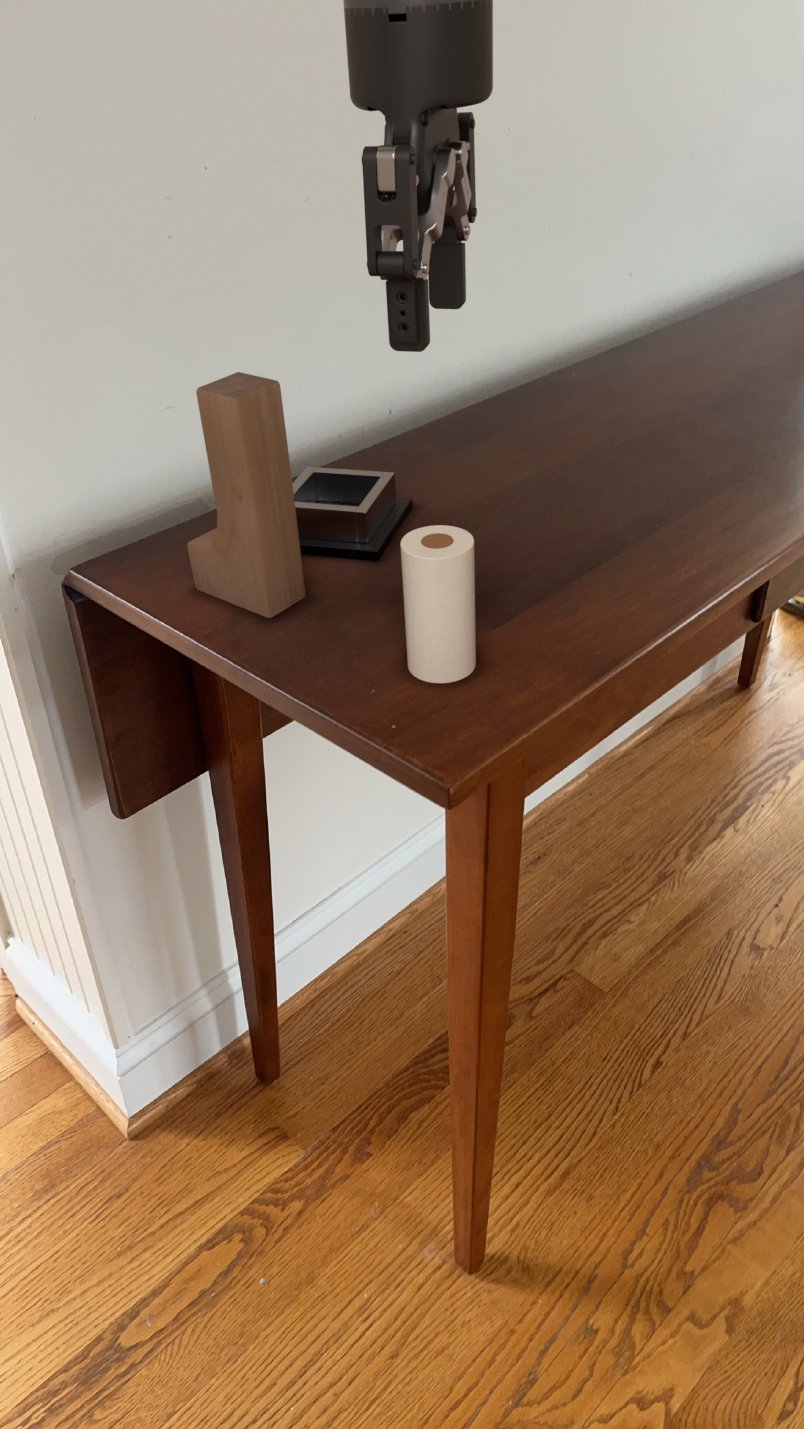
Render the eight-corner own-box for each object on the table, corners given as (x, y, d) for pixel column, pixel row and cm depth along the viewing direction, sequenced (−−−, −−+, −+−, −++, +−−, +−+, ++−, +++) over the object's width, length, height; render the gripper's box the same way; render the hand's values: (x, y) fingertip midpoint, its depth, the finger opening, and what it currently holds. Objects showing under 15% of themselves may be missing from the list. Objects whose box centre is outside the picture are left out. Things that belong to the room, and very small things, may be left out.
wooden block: (193, 590, 86) (151, 377, 76) (232, 569, 89) (197, 360, 78) (270, 621, 81) (236, 398, 71) (308, 597, 84) (281, 379, 74)
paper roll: (399, 679, 74) (391, 554, 68) (418, 642, 78) (411, 521, 72) (466, 687, 73) (464, 560, 67) (482, 650, 76) (481, 527, 70)
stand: (261, 550, 92) (254, 509, 89) (304, 499, 100) (300, 460, 98) (378, 561, 89) (374, 519, 86) (412, 507, 97) (410, 467, 95)
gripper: (388, -6, 58) (403, 295, 67) (296, 6, 47) (330, 363, 56) (519, -14, 56) (515, 297, 65) (455, -3, 45) (462, 368, 54)
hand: (429, 327), depth 61 cm, fingers open, 8 cm apart
